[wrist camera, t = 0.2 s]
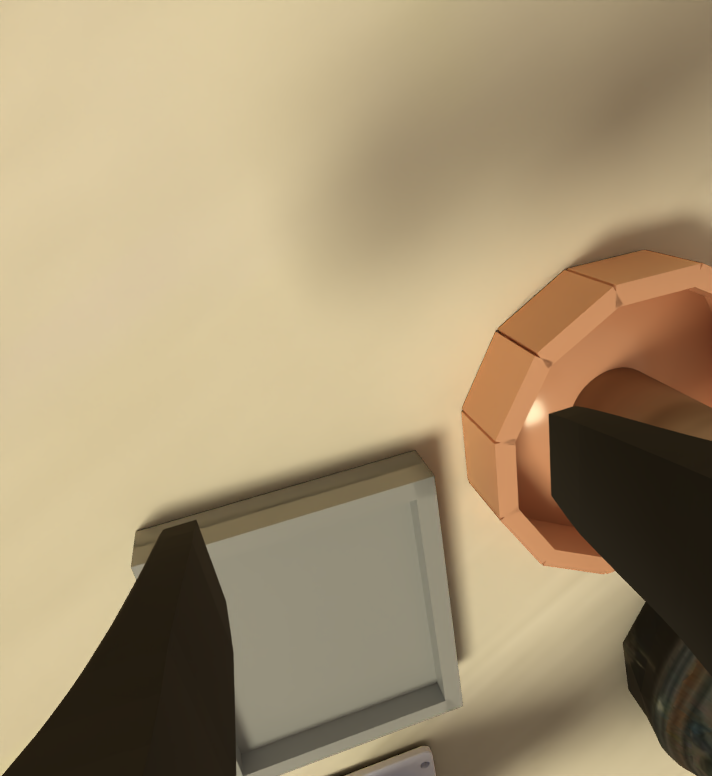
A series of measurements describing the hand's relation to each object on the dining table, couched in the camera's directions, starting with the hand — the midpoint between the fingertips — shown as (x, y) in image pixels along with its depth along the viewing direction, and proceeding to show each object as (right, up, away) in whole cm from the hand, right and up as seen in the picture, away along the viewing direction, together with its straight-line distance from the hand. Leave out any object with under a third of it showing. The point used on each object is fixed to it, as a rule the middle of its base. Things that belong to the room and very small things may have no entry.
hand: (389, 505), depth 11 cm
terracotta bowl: (+10, +1, +13) cm, 17 cm away
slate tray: (-2, -7, +14) cm, 16 cm away
